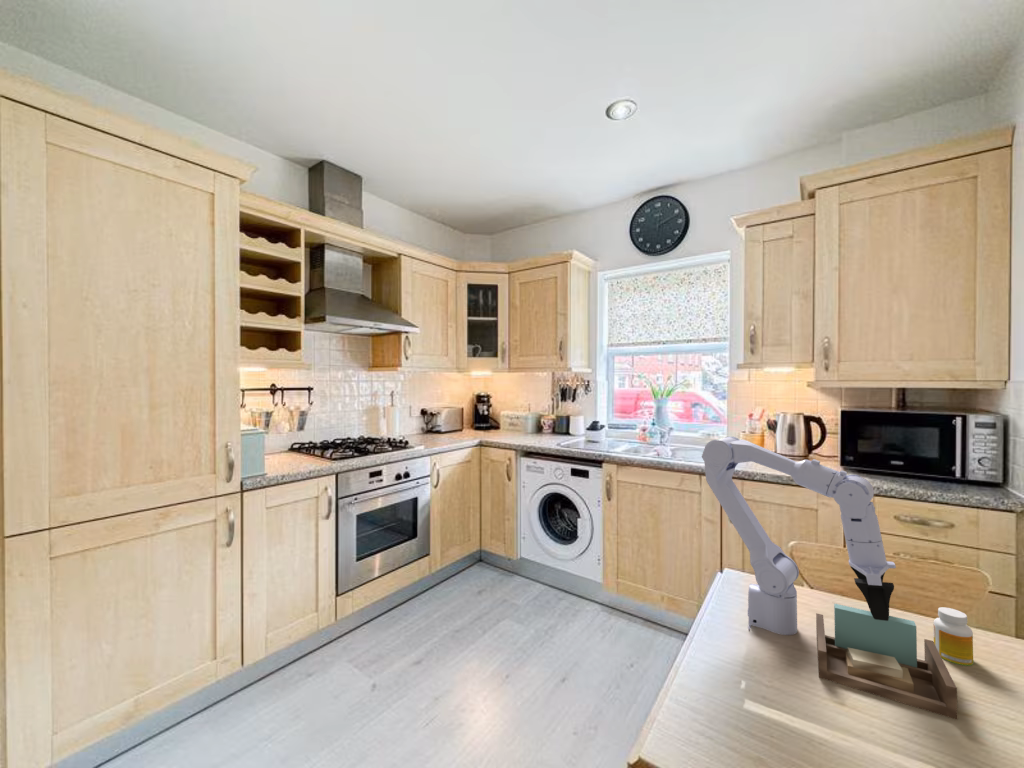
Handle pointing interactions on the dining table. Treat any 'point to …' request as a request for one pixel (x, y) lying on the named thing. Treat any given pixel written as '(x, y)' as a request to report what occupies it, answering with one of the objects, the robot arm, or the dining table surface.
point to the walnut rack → (928, 679)
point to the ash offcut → (875, 662)
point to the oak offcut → (883, 677)
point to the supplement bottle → (953, 636)
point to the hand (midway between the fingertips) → (878, 610)
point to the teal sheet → (876, 634)
